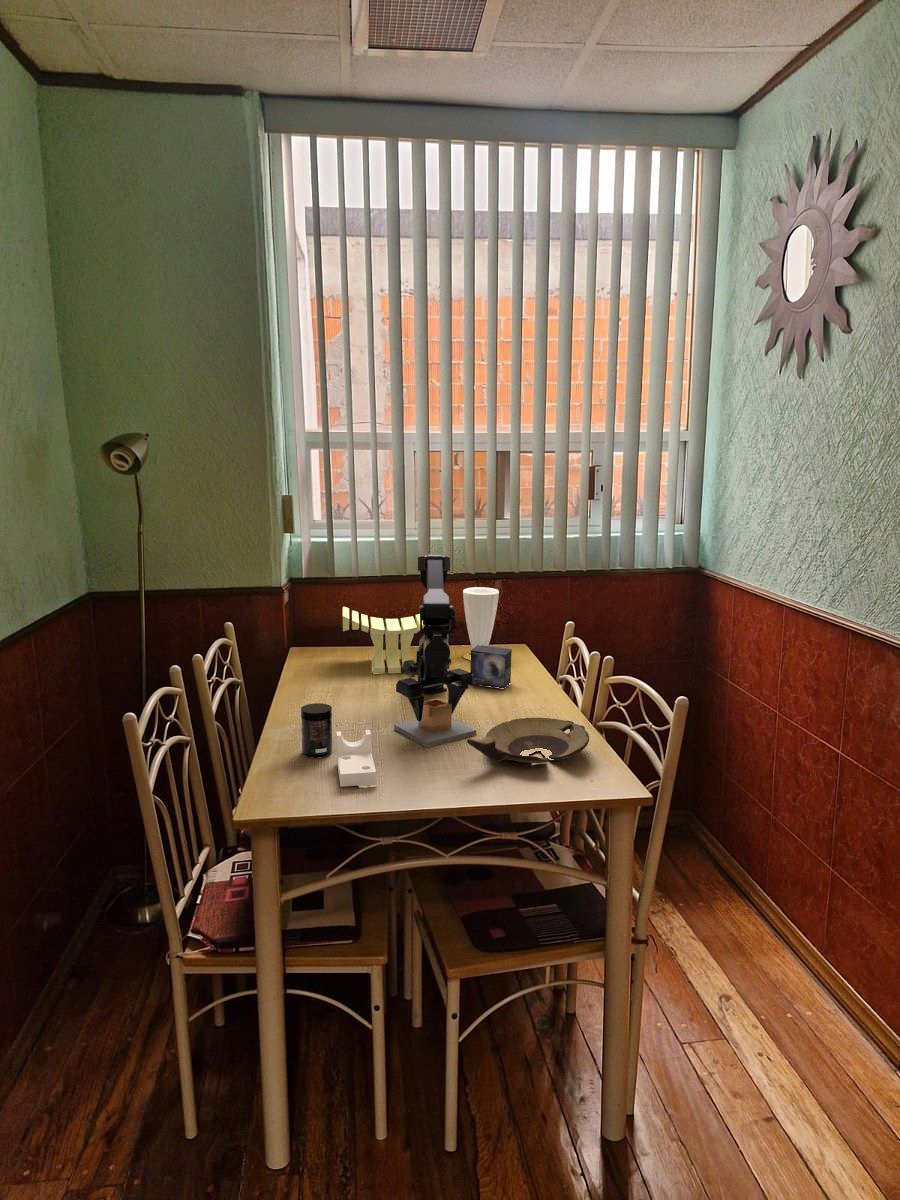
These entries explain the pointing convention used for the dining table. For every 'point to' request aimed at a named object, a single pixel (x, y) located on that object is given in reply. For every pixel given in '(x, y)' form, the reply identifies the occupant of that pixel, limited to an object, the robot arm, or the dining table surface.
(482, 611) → the cup
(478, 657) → the small box
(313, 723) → the supplement container
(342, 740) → the bracket
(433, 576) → the robot arm
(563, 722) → the oil lamp
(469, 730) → the stand
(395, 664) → the slatted curved stool
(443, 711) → the hollow wooden cube
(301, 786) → the dining table surface
